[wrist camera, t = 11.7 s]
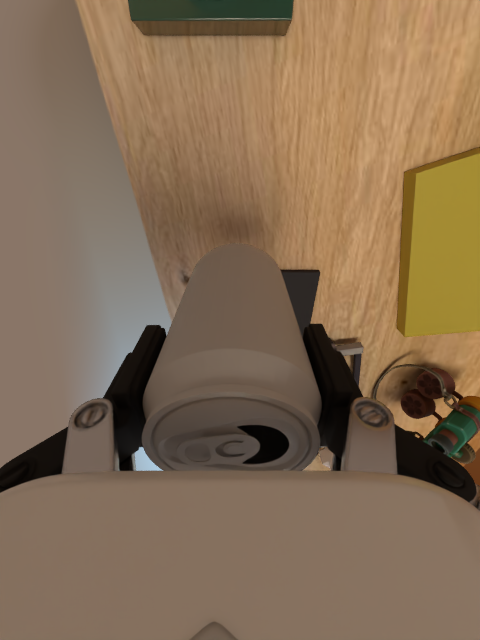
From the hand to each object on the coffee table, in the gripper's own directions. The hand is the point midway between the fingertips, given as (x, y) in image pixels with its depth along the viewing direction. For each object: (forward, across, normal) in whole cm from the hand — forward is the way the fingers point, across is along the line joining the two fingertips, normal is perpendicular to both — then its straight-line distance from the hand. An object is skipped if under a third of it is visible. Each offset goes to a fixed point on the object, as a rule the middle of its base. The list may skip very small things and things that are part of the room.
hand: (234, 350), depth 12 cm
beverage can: (+7, 0, 0) cm, 7 cm away
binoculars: (+22, -31, +27) cm, 46 cm away
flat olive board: (+22, -27, +4) cm, 35 cm away
